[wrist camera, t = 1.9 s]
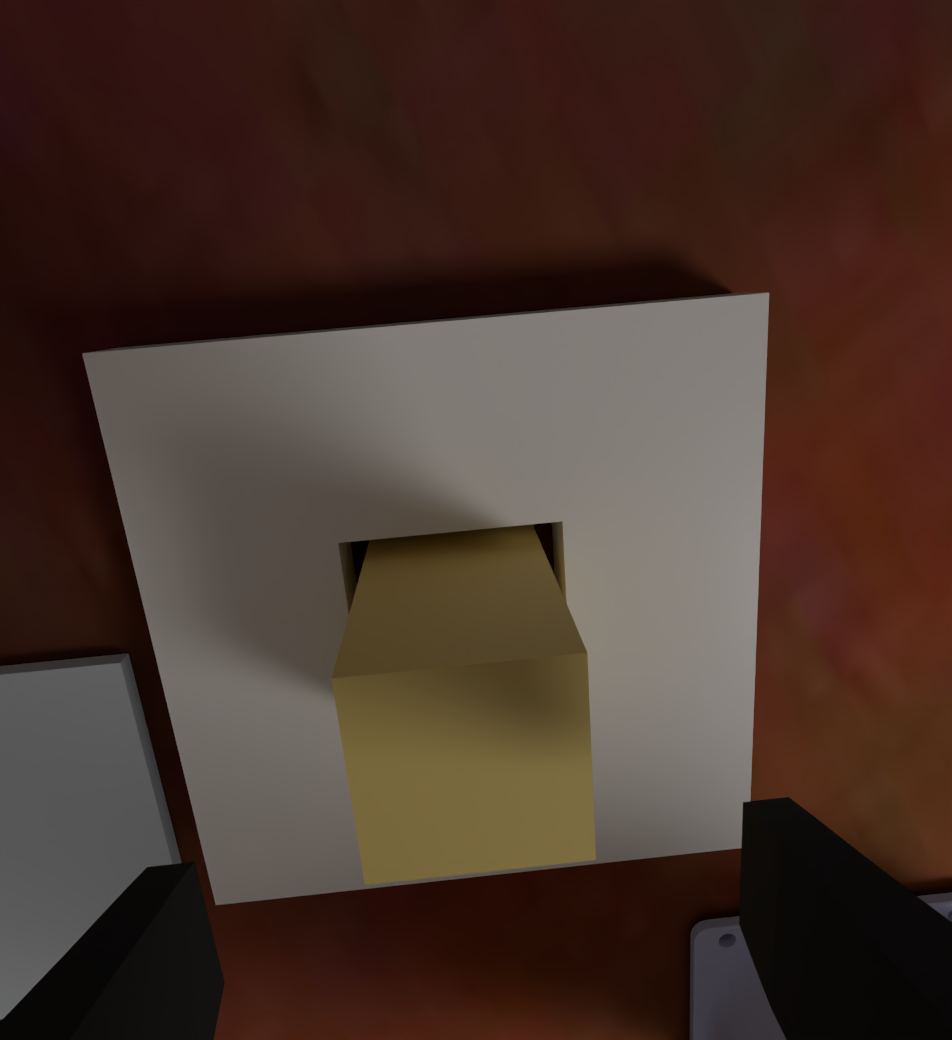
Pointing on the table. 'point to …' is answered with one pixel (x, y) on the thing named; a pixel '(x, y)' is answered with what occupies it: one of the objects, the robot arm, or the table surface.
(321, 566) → the pocket holder
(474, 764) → the block
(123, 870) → the mat
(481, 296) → the table surface
